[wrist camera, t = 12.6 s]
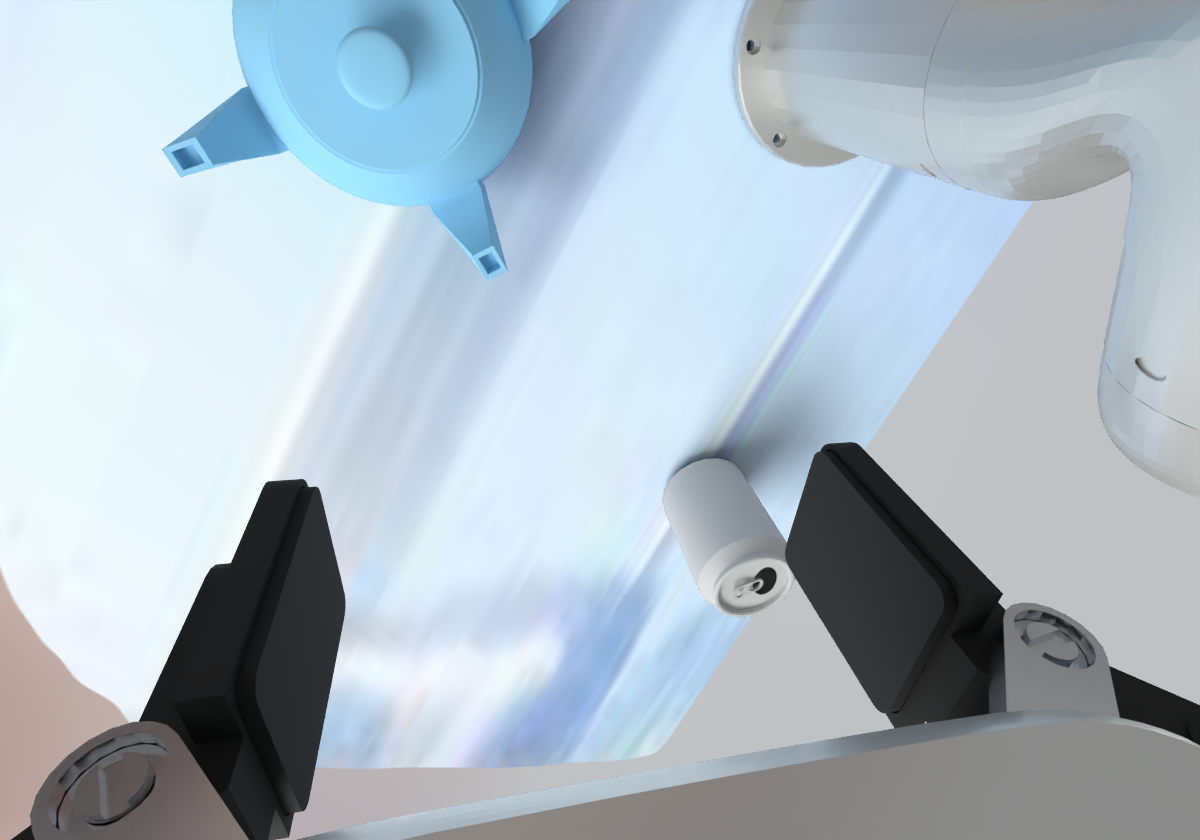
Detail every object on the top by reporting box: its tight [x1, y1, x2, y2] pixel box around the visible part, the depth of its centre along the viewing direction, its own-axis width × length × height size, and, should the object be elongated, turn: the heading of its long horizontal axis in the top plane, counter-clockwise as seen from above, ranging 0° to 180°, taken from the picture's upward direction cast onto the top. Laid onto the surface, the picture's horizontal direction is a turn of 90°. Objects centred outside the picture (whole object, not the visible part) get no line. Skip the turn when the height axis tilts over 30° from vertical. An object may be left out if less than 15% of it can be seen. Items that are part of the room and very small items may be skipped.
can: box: [662, 458, 795, 617], centre depth 48 cm, size 8×8×12 cm
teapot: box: [162, 0, 570, 281], centre depth 28 cm, size 15×15×11 cm
